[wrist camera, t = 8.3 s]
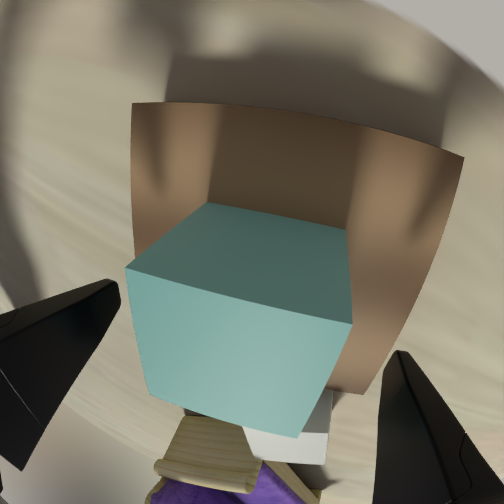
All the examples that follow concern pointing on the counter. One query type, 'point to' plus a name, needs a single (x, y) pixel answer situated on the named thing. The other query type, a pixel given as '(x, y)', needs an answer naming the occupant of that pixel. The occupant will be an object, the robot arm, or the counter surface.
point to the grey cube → (305, 446)
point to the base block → (304, 199)
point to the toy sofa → (222, 469)
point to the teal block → (242, 315)
